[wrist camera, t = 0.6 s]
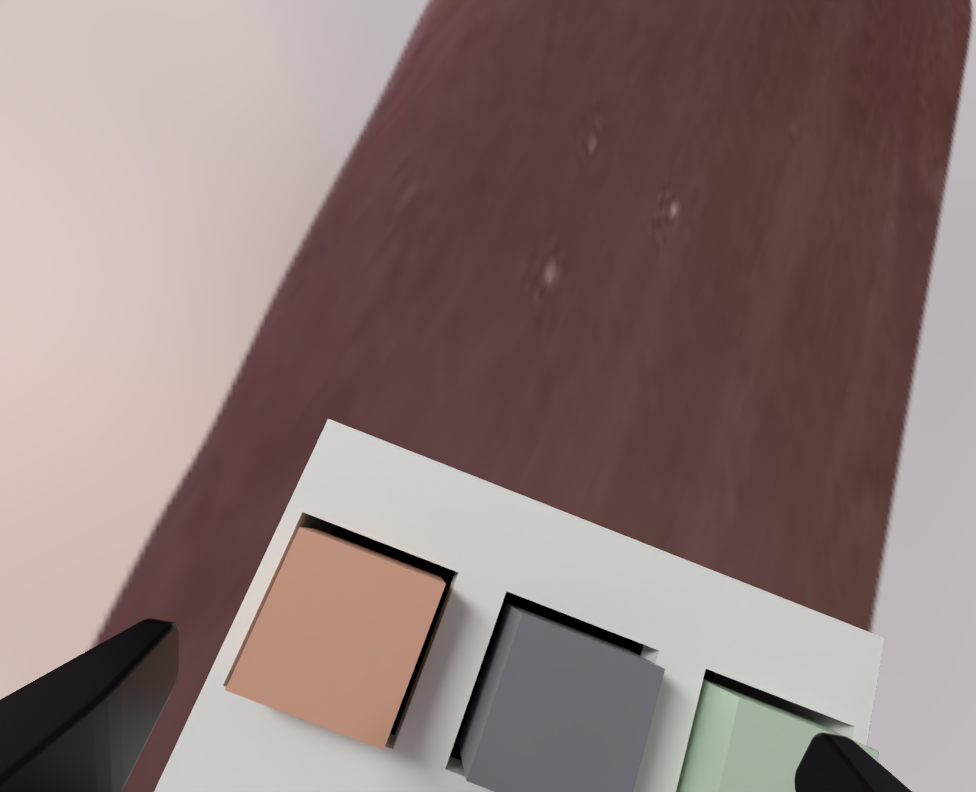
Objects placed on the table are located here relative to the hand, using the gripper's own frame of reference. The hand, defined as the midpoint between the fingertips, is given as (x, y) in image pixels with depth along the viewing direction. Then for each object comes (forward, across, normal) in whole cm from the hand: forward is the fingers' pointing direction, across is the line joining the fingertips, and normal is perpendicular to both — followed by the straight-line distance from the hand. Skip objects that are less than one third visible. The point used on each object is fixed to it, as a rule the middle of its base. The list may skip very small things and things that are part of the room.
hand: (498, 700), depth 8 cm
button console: (+10, -2, +9) cm, 14 cm away
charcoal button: (+6, -2, +5) cm, 8 cm away
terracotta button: (+6, +3, +4) cm, 8 cm away
